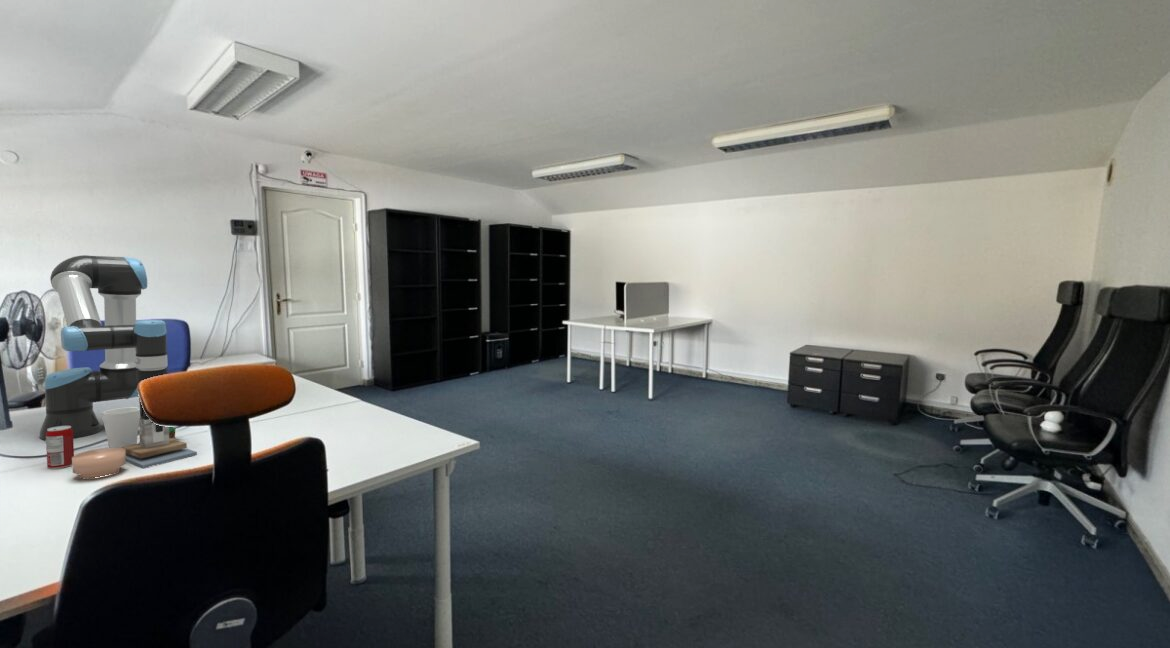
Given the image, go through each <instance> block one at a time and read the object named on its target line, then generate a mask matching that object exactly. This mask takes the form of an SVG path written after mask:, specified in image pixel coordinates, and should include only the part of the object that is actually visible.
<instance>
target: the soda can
mask: <svg viewBox="0 0 1170 648" xmlns="http://www.w3.org/2000/svg"><path fill="white" fill-rule="evenodd" d="M74 443H75V442H74V438H73V430H72V428H71V426H58V427H52V428H49V429H47V432H46V440H45V446H46V447H45V448H46V464H47V465H46V467H47V468H48V469H51V470H58V469H57V468H60V469H64V468H63V467H65V468H68V467H71V466H72V457H73V456H75V448H74V447H75V446H74ZM70 465H71V466H70ZM67 466H68V467H67Z"/></svg>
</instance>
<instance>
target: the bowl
mask: <svg viewBox="0 0 1170 648" xmlns="http://www.w3.org/2000/svg"><path fill="white" fill-rule="evenodd" d="M126 464H127V462H126V454H125V449H124V448H109V447H106V448H105V447H104V448H96V449H92V450H87V451H83V452H80V453H77V454H74V456H73V457H72V465H71V467H72V474H74V475H80V477H81V478H85V479H84V480H88V479H87V478H95V477H100V476H105V475H109V474H113V475H115V474H114V473H116V474H118V473H119V472H120V468H121V467H123V466H125V465H126ZM117 472H118V473H117ZM81 478H80V479H81Z"/></svg>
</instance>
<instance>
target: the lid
mask: <svg viewBox="0 0 1170 648" xmlns="http://www.w3.org/2000/svg"><path fill="white" fill-rule="evenodd" d="M163 429H164V441H159V442H155V443H153V442H152V423H148V424H142V423H141V424H139V429H138V435H139V442H137V444H133V445H129V446H124V447H122V448H124V449H125V453H127V454H130V455H133V456H135V457H138V458H145V457H149V456H153V455H157V454H162V453H166V452H170V451H174V450H178V449H183V448H186V449H188V448H187V447H188V446H187V442H185V441H180V440H178V439H176V438H175V439H172V438H169V427H165V426H163Z"/></svg>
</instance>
